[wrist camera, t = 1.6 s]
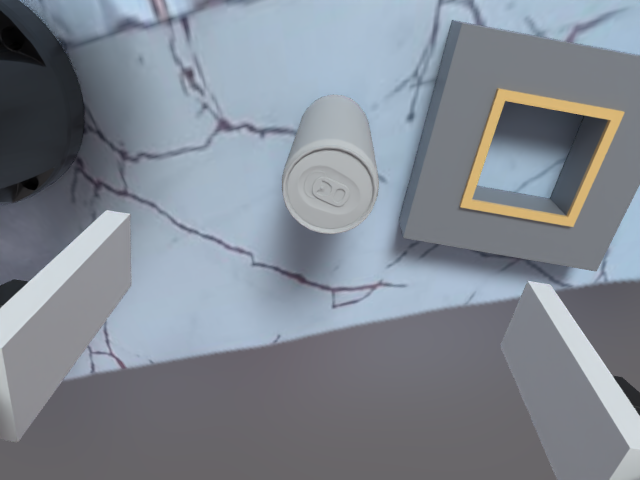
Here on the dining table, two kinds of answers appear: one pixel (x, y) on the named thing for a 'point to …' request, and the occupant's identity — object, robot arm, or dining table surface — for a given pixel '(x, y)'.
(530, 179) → the dining table surface
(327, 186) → the beverage can
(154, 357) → the dining table surface
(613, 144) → the socket plate
